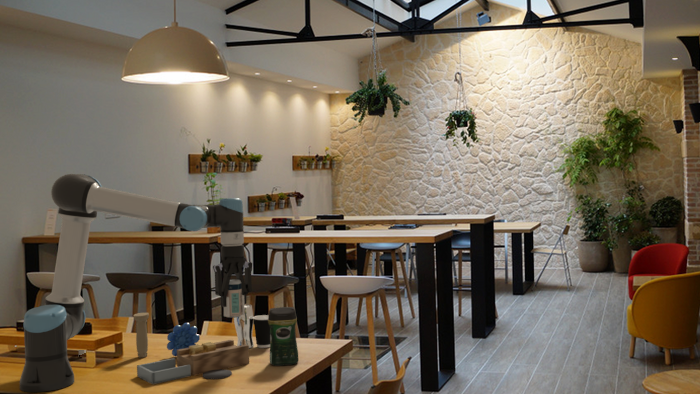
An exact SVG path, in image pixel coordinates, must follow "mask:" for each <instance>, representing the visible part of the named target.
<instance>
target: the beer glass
mask: <svg viewBox="0 0 700 394" xmlns="http://www.w3.org/2000/svg"><path fill="white" fill-rule="evenodd" d="M244 307H245V315H241V316H240V317H235V318H233V322H234V327H235V332H236V336H237V343H236V346H241V345H249V349H252V348H254V347H255V343H254V340H253V330H254V319H253V317H254V311H253V305H252V304H244Z"/></svg>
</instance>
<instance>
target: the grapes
mask: <svg viewBox="0 0 700 394" xmlns="http://www.w3.org/2000/svg"><path fill="white" fill-rule="evenodd" d="M197 332H198V328H197V326H195V325H194V326H193V325H192V326H191V324H190V323H189V322H184V323H183V324H182V325H179V324H177V325H175V326H174V327H173V329H172V332H170V333H168V334H167V341H168V343H167V344H166V348H167V350H168V351H171V355H172V356H173V357H177V350H179V349H184V348H189V346H192V345H197V344H196V343H198V342H200V340H201V339H200V338H201V337H200V334H197Z"/></svg>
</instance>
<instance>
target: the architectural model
mask: <svg viewBox="0 0 700 394" xmlns="http://www.w3.org/2000/svg"><path fill="white" fill-rule="evenodd" d="M84 353H86V350H78V356H79V355H82V354H84Z"/></svg>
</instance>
